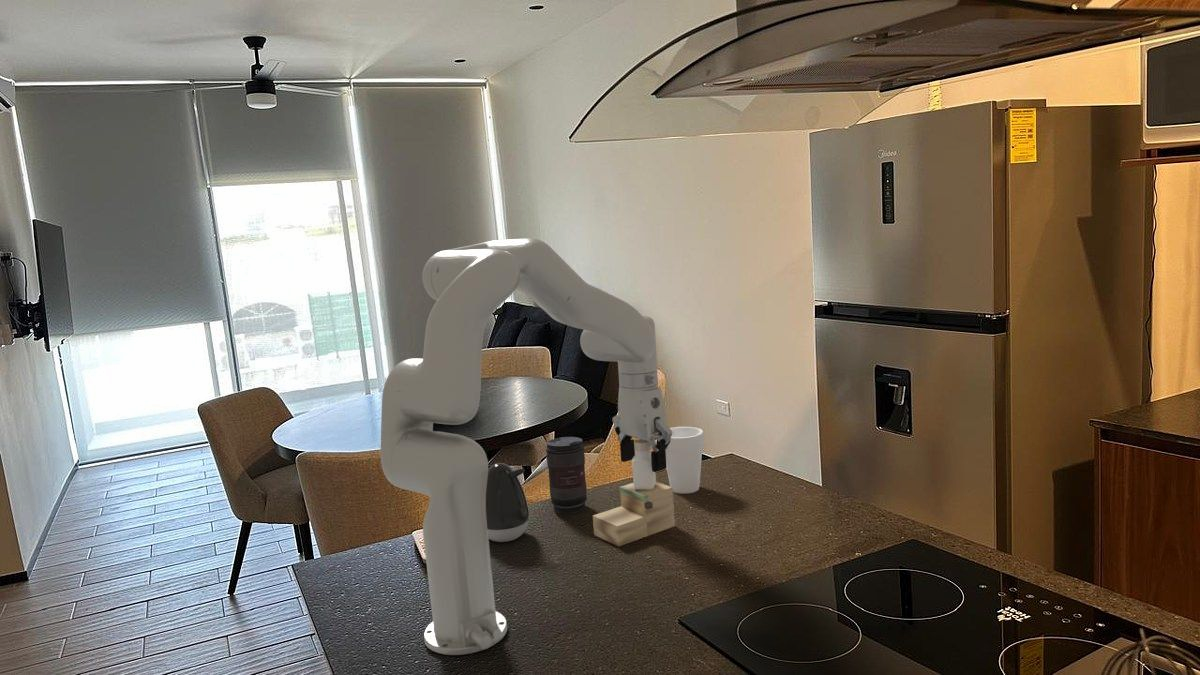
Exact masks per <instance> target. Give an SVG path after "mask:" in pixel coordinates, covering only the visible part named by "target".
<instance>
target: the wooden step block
mask: <svg viewBox="0 0 1200 675" xmlns="http://www.w3.org/2000/svg"><path fill="white" fill-rule="evenodd" d="M618 488H619V497H620V506H617V507H615V508H612V509H611V508H610V509H608V510H606V511H603V512H599V513H597V514H596V513H595V514H594V515H592V525H593V536H595V537H598V538H600V539H601V540H604V541H607V542H608V543H611V544H612V545H615V546H617V547H621V546H624V545H627V544H630V543H633V542H635V541H638V540H640V539H643V537H644V538H646V537H649V536H652V535H655V534H657V533H659V532H662V531H664V530H665V531H666V530H668V529H671V528H674V527H676V522H675V521H676V520H675V519H676V518H675V505H674V492H673V487H670V485H667V484H664V483H661V482H658V481H656V484H655V486H654V488H653V489H651V490H636V489H635V488H634V484H633V482H631V483H628V484H625V485H621V486H618Z"/></svg>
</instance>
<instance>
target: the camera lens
mask: <svg viewBox="0 0 1200 675" xmlns="http://www.w3.org/2000/svg"><path fill="white" fill-rule="evenodd" d="M583 442H584V441H583V438H580V437H576V436H562V437H557V438H552V439H549V440H548V441H547V442H546V446H545V451H546V464H547V468H548V479H549V480H548V481H549V485H548V486H549V495H550V501H551V504H552V505H553V510H554V512H555V513H557V514H563V515H568V514H569V515H570V514H576V513H579V512H581V511H584V509H585V508H586V501H587V498H588V497H587V493H588V491H587V481H586V471H585V468H586V467H585V466H586V465H585V464H586V462H585V461H586V457H585V456H586V455H585V446H584V443H583Z"/></svg>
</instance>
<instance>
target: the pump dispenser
mask: <svg viewBox="0 0 1200 675" xmlns="http://www.w3.org/2000/svg"><path fill="white" fill-rule="evenodd" d="M524 473H525V468H523V467H520V468H517V469H513V468H512V467H511V466H510V465H509V464H506V463H504V462H498V463H493V464H492V465H490V467H488V478H487V487H486V519H487V531H488V539H489V540H491V541H493V542H498V543H509V542H512V541H515V540H516V539H518V538H519V537H521V536H522V535H523V534H524V533H525V532H526V529H527V527H528V523H529V521H530V518H531V517H530V510H529V504H528V501H527V500H528V499H527V498H526V497H527V496H526V494H525V491H524V488H523V485H522V483H521V482H520V479H519V476H521V475H522V474H524Z"/></svg>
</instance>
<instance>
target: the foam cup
mask: <svg viewBox="0 0 1200 675" xmlns="http://www.w3.org/2000/svg"><path fill="white" fill-rule="evenodd" d="M669 428H670V429H671V430H672V436H671V439H670V444H669V445H668V448H667V449H666V471H667V472H666V473H667V477H668V482H669V486H670V487H673V493H675V494H693V493H695V492H698V491H699V490H700V484H701V470H702V455H703V446H704V445H703V444H704V440H705V438H704V431H703V429H702V428H699V427H694V426H676V427H669Z"/></svg>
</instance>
